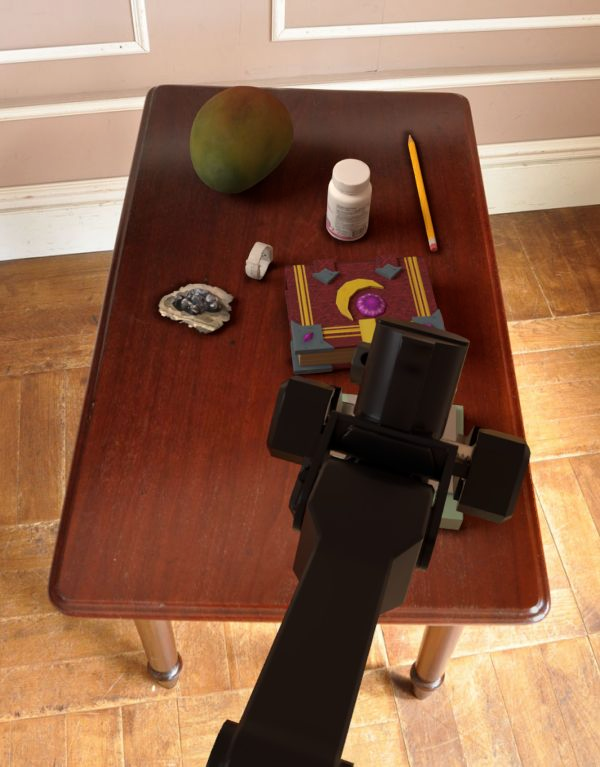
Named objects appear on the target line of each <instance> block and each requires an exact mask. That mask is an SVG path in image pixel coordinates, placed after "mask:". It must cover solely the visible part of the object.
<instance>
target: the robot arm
mask: <svg viewBox="0 0 600 767" xmlns="http://www.w3.org/2000/svg"><path fill="white" fill-rule="evenodd" d="M470 342H471V341H470V340H469V339H468V338H465V337H463V336H461V335H459V334H456V333H453V332H450V331H447V330H445V331H444V330H441V329H438V328H434V327H431V326H427V325H423V324H419V323H415V322H411V321H406V320H401V319H396V318H388V317H378V318H377V322H376V326H375V330H374V334H373V338H372V341H371V343H367V342H364V341H361V342H360V343H359V344H358V346H357V347H356V350H355V353H354V356H353V360H352V363H351V368H350V369H349V370H350V371H349V381H350V383H351V384H355V385H357V386H359V388H358V391H357V392H358V393H357V394H356V395H357V399H356V403H355V404H352V403H348V402H343V401H342V394H343V390H342V389H343V388H342V387H341V386H337V385H334V384H329V383H327V382H322V381H319V380H316V379H312V378H308V377H305V376H301V375H299V374H298V375H292V376H291V377H289V378H287V379H285V380H283V381H282V382H281V384H280V387H279V389H278V392H277V395H276V400H275V403H274V408H273V412H272V417H271V421H270V425H269V429H268V432H267V438H266V443H265V444H266V449H267V451H268V453H269V455H270V457H272V458H276V459H279V460H281V461H286V462H289V463H292V464H295V465H299V466H300V469H299V472H298V473H297V477H296V480H295V483H294V486H293V489H292V492H291V494H290V497H289V501H288V509H289V511H290V514H291V515H292V519H293V520H292V527H291V530H292V532H296V533H299V539H298V543H297V547H296V552H295V556H294V561H293V565H292V571H293V574H294V575H295V577H296V579H297V581H298V583H297V585H296V588H295V590H294V592H293V595H292V597H291V599H290V602H289V604H288V606H287V608H286V611H285V613H284V615H283V618H282V621H281V622H280V625H279V627H278V630H277V632H276V634H275V637H274V639H273V642H272V644H271V647H270V649H269V651H268V654H267V655H266V658H265V660H264V663H263V665H262V667H261V669H260V672H259V674H258V677H257V679H256V682H255V684H254V686H253V688H252V691H251V693H250V696H249V698H248V700H247V702H246V705H245V707H244V710H243V712H242V714H241V717H240V719H239V721H238V722H237V721H234V720H231V719H228V718H227V719H226V720H225V721H224V722H223V723H222V725H221V727H220V729H219V731H218V733H217V735H216V738H215V741H214V742H213V745H212V748H211V750H210V753H209V755H208V758H207V760H206V764H205V767H355V762H352V761H349V760H346V759H343V758H342V756H343V752H344V750H345V745H346V741H347V737H348V734H349V730H350V727H351V722H352V719H353V715H354V713H355V712H354V711H355V708H356V704H357V700H358V696H359V693H360V689H361V685H362V682H363V678H364V675H365V670H366V666H367V663H368V659H369V656H370V651H371V647H372V644H373V640H374V638H375V637H374V636H375V633H376V629H377V625H378V623H379V622H378V621H379V617H380V616H381V615H383V614H386V613H387V612H390V611H392V610H394V609H396V608H399V607H401V606H403V605H404V604H405V603H406V602H405V601H406V599H407V595H408V592H409V588H410V585H411V582H412V579H413V575H414V572H415V569H416V570H419V571H422V572H427V571H428V568H429V566H430V562H431V559H432V555H433V552H434V549H435V545H436V543H437V539H438V535H439V531H440V528H439V527H440V523H441V519H442V515H443V510H444V506H445V502H446V498H447V494H448V490H449V485H450V481H451V477H452V475H453V500H456V501H458V502H457V506H456V511H458V512H461V513H463V514H465V515H469V516H472V517H476V518H478V519H482V520H485V521H488V522H492V523H495V524H499V525H502V524H504V523H506V522H507V521H509V520H510V519H512V517H513V515H514V512H515V509H516V506H517V504H518V500H519V497H520V493H521V490H522V487H523V485H524V484H523V483H524V482H525V481H524V480H525V477H526V474H527V471H528V468H529V464H530V459H531V455H532V452H531V448H530V446H529V444H528V443H527V441H526V439H525V438H523V437H520V436H516V435H513V434H509V433H505V432H502V431H498V430H495V429H491V428H487V427H484V426H481V425H476V424H475V425H474V426H473V427H472V429H471V431H470V432H469V434H468V435H466V434H464V433H463V434H459V433H458V435H457V438H456V441H452V440H449V439H445V438H442V437H443V435H444V431H445V428H446V424H447V421H448V417H449V414H450V410H451V407H452V405H453V404H454V401H453V400H455V398H454V396H455V397H456V395H455V393H456V394H457V392H456V389H457V390H458V386H459V382H460V378H461V376H462V373H463V372H462V371H463V368H464V364H465V362H466V357H467V354H468V350H469V347H470V344H471V343H470ZM452 403H453V404H452ZM352 414H354V416H352ZM333 455H334V456H333ZM335 456H337V457H335ZM338 457H341V458H338ZM342 458H344V459H342ZM429 480H433V481H436V482H439V484H438V488H437V492H436V495H435V499H434V503H433V506H432V502H433V498H434V493H435V489H434V487H433V485H431V484H428V482H429Z"/></svg>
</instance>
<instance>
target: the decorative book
mask: <svg viewBox="0 0 600 767" xmlns="http://www.w3.org/2000/svg"><path fill="white" fill-rule="evenodd" d="M284 296H285V303H286V309H287V310H286V311H287V317H288V324H289V331H290V339H291V340H290V351H291V359H292V360H291V361H292V366H293V374H294V375H298V376H299V375H307V374H319V373H329V372H333V370H340V369H351V363H352V360H353V356H354V353H355V350H356V347H357V346H358V344H359V343H360V342H361V341H364V342H367V343H371V341H372V338H373V334H374V330H375V326H376V322H377V318H378V317H388V318H396V319H401V320H406V321H411V322H415V323H419V324H423V325H427V326H431V327H434V328H438V329H441V330H444V331H446V328H445V325H444V324H445V323H444V322H445V321H444V318H443V314H442V312H441V310H440V308H439V309H438V306H437V302H436V298H435V293H434V290H433V286H432V283H431V278H430V274H429V271H428V268H427V263H426V259H425V256H424V255H420V256H419V255H418V256H406V257H404V256H403V257H397V255H396V253H393V254H392V253H391V254H380V255H375V259H363V260H351V261H338V262H337V261H336V262H335V261H334V258H327V259H326V258H323V259H313V262H312V263H310V264H309V263H308V264H295V265H284ZM294 375H293V376H294Z"/></svg>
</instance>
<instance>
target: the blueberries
mask: <svg viewBox="0 0 600 767" xmlns="http://www.w3.org/2000/svg"><path fill="white" fill-rule="evenodd" d="M234 298H235V297H234V296H233V295H232V294H231V293H227V292H226V291H225V290H223V289H222V288H219V287H218V286H211V285H209V284H208V285H207V284H205V283H193V284H192V283H189V284H187V285H186V286H180V288H179V289H178V290H173V292H172V293H169V294H167V295H164V296H163V297H162V298H161V299H160V300H159V304H158V305H157V306H158V307H159V309H158V312H159V313H160V314H161V316H163V317H167V318H170V319H171V320H172V321H180V322H179V324H182V323H185V324H188V328H193V327H194V328H195V329H196V330H197V331H198V332H199V333H204V334H209V333H213V332H214V331H216V330H218V329H220V328H221V327H222V326H224V322H228V321H229V320H231V318H230V317H231V314H230V311H232V306H230V305H229V304H230V303H231V302H232V301H234V300H233V299H234Z"/></svg>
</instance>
